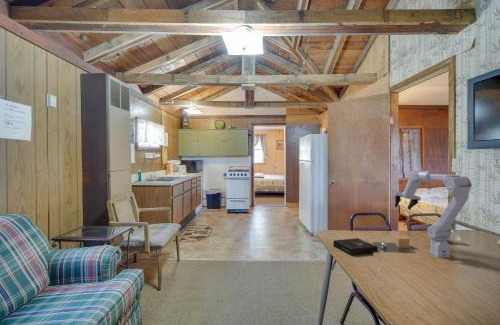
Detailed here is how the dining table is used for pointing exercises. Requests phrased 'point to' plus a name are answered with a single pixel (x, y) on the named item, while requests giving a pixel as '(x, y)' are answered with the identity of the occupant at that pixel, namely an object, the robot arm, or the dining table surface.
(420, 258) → the dining table surface
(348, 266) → the dining table surface
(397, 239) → the tan wooden block
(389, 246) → the base plate
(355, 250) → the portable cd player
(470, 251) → the dining table surface
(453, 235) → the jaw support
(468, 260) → the dining table surface
